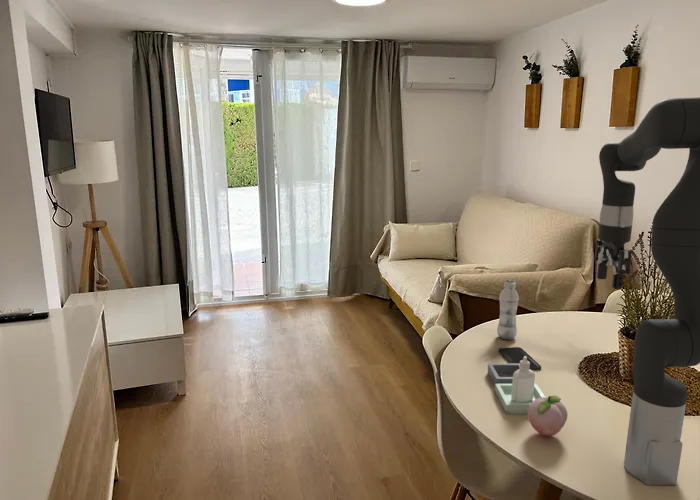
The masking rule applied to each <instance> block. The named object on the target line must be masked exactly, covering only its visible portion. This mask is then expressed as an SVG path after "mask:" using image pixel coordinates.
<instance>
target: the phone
mask: <svg viewBox="0 0 700 500" xmlns="http://www.w3.org/2000/svg"><path fill="white" fill-rule="evenodd" d="M497 351H498V353H499V354H500V355H501V356H502V357H503V359H504V360H506V361H507V362H508V363H520V361H521V360H523V358H524V356H525V357H527V361H529V362H530V368H529V369H530V370H535V371H541V370H542V365H540V364H539V363H538V362H537V361H536V360H535V359H534V358H533V357H531V356H530V354H528V353H527V351H526V350H524V348H522V347H519V346H515V347H514V346H513V347H512V346H511V347H500V348H498V350H497Z"/></svg>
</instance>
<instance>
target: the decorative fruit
mask: <svg viewBox="0 0 700 500" xmlns="http://www.w3.org/2000/svg"><path fill="white" fill-rule="evenodd" d="M561 400H562V399H561V397H560V396H558V395H548V396H547V397H546V396H545V397H541V398H538V399H536V400H534V401H533V402H532V403H531V404H530V406H529V408H528V414H527V419H528V421H529V423H530V426H532V428H533V429H534V430H535V431H536V432H537V433H538V434H540V435H541V436H546V437H551V436H552V437H553V436H555V435H557V434H558V433H559V432H561V430H562V429H563V427H564V426H565V424H566V422H567V419H568V411H567V407H566V405H564V404H563V403H562V402H561Z"/></svg>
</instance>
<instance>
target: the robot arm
mask: <svg viewBox="0 0 700 500" xmlns="http://www.w3.org/2000/svg"><path fill="white" fill-rule="evenodd" d="M661 149H666V150H673V149H674V150H677V149H678V150H679V149H680V150H681V149H689V153H688V157H687V163H686V166H685V168H684V172H683V174H682V176H681V177H680V179H679V181H678V183H676V185H675V186H674V188H673V189H672V190H671V192H669V194H668V195H667V197H666V198H665V199H664V200H663V202H662V203H661V204H660V206H659V207H658V209H657V210H656V212H655V214H654V216H653V219H652V225H651V227H652V228H651V244H650V246H651V247H650V251H651V254H652V258H653V260H654V261H655V264H656V265H657V267H658V269H659V270H660V272H661V274H662V276H663V277H664V278H665V280H666V282H667V284H668V285H669V288H670V290H671V293H672V296H673V301H674V303H673V304H674V314H673V318H659V319H658V318H653V319H645V320H642V321H641V322H640V324H639V325H638V327H637V329H636V332H635V335H634V346H633V347H634V348H633V349H634V350H633V366H632V376H633V377H632V378H633V391H632V396H631V397H632V399H631V405H630V413H629V420H628V421H629V422H628V428H627V436H626V443H625V453H624V460H623V466H624V468H625V470H626V471H627V472H628V473H629V474H630V475H631V476H632V477H634V478H636V479H638V480H640V481H641V482H643V484H644V485H647V486H652V485H653V486H657V485H658V486H660V485H661V486H666V485H667V486H668V485H669V486H676V485H677V481H678V475H679V470H680V464H681V463H680V462H681V457H682V452H683V442H682V441H681V439H682V438H681V437H682V432H683V424H684V420H685V412H686V407H687V399H688V394H689V393H688V389H687V386H686V385H685V384H684V383H683V382H681V381H680V380H679V379H676V378H674V377H672V376H670V375H667V374H665V373H666V372H665V370H666V368H674V367H675V368H676V367H678V368H684V367H685V368H686V367H687V368H688V367H689V368H690V367H696V366H697V365H699V364H700V96H699V97H677V98H676V97H675V98H666V99H662V100H660V101H658V102H656V103H654V105H653V106H652V107H651V108H650V109H649V111H648V112H647V113H646V114H645V116H644V118H643V119H642V120H641V121H640V123H639V124H638V126H637V128H636V129H635V131H633V132H632V133H631V134H629V135H628V136H626V137H625V138H623V140H622V141H620V142H619V141H618V142H613V141H612V142H611V141H610V142H607V143H605V144H604V145H602V147H601V149H600V150H599V155H598V159H599V166H600V169H601V174H602V182H603V194H602V201H601V202H602V204H601V208H600V214H599V224H598V230H597V231H598V232H597V239H596V242H595V250H594V257H593V258H594V259H593V260H594V261H595V262H596V264H597V273H596V279H598V280H606V279H607V275H608V274H607V273H608V265H610V267H611V268H612V270H613V275H612V282H611V283H612V284H611V285H612V286H611V288H612V289H613V290H622V289H623V282H624V275H630V274H631V273H630V272H631V264H632V263H631V262H632V251H631V250H627V249H626V250H625V244H626V243H629V242H631V240H632V239H631V238H632V231H633V230H632V229H633V221H634V203H635V194H636V185H635V183H634V182H632V181H629V180H624V179H619V178H618V177H617V174H616V172H637V171H641V170H643V169H644V168H645V167H646V164H647V162H648V161H649V160H651V159H653V158H655V157H656V156H657V155H658V154H659V153H660V151H661Z"/></svg>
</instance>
